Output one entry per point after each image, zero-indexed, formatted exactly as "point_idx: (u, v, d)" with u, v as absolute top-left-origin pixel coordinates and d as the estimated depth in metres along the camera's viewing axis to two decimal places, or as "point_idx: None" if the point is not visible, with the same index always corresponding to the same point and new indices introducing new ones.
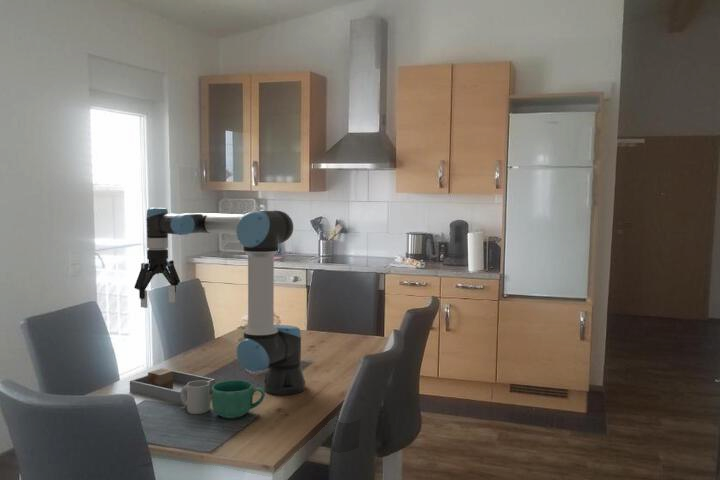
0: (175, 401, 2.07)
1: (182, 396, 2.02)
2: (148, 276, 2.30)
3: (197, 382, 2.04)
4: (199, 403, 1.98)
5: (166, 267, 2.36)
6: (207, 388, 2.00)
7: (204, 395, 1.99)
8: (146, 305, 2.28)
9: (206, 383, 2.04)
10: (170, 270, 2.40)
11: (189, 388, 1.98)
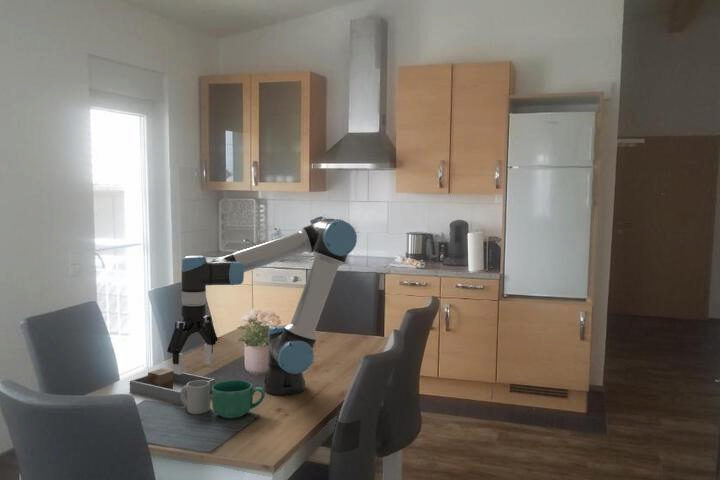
0: (175, 401, 2.07)
1: (182, 396, 2.02)
2: (183, 337, 1.96)
3: (197, 382, 2.04)
4: (199, 403, 1.98)
5: (203, 325, 2.02)
6: (207, 388, 2.00)
7: (204, 395, 1.99)
8: (180, 371, 1.94)
9: (206, 383, 2.04)
10: (207, 327, 2.06)
11: (189, 388, 1.98)
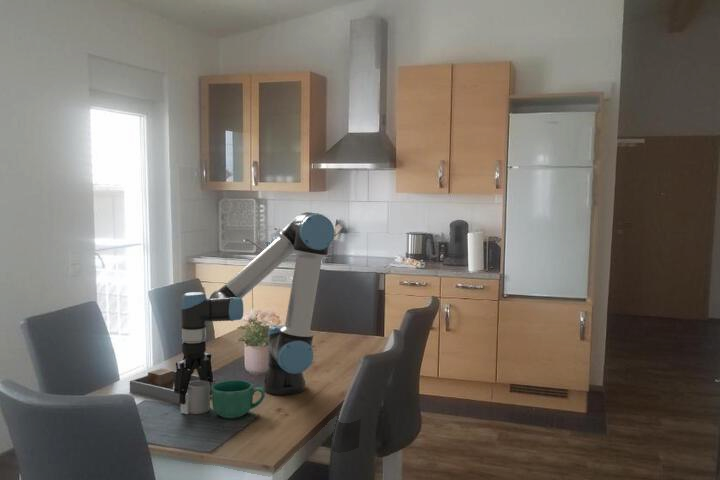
0: (175, 401, 2.07)
1: None
2: (186, 376, 1.98)
3: (197, 382, 2.04)
4: (199, 403, 1.98)
5: (203, 362, 2.02)
6: (207, 388, 2.00)
7: (204, 395, 1.99)
8: (187, 411, 1.98)
9: (206, 383, 2.04)
10: (205, 365, 2.06)
11: (189, 388, 1.98)
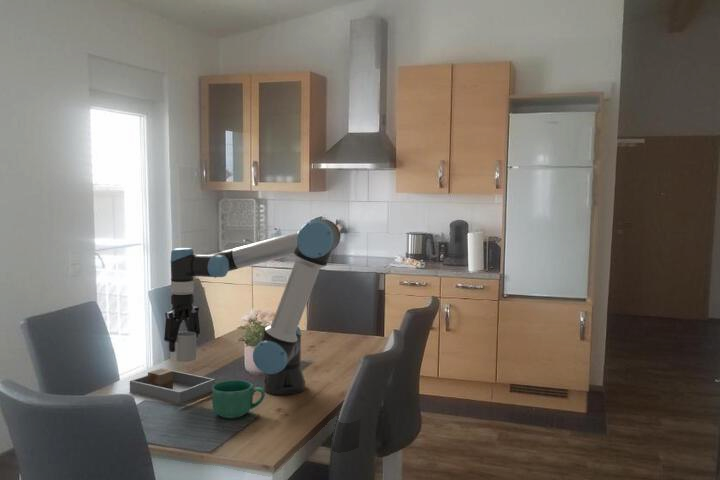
0: (175, 401, 2.07)
1: None
2: (175, 326, 2.11)
3: (184, 333, 2.18)
4: (186, 351, 2.12)
5: (191, 314, 2.16)
6: (193, 338, 2.13)
7: (191, 344, 2.12)
8: (176, 358, 2.12)
9: (193, 334, 2.17)
10: (193, 318, 2.20)
11: None
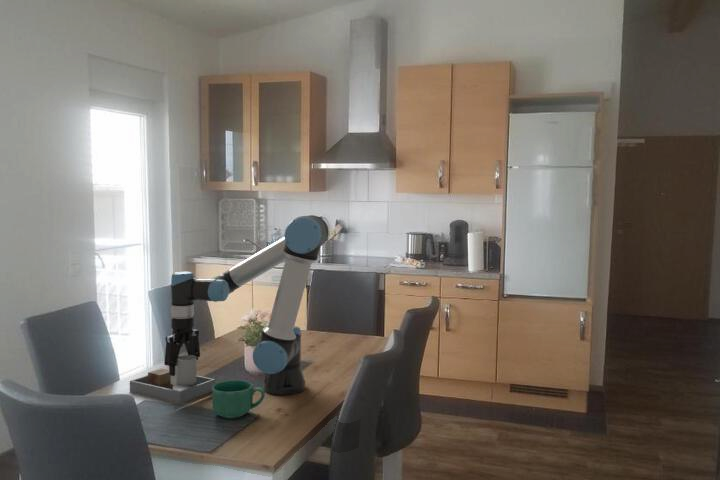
0: (175, 401, 2.07)
1: None
2: (175, 349, 2.12)
3: (185, 356, 2.18)
4: (186, 375, 2.12)
5: (191, 337, 2.17)
6: (194, 361, 2.14)
7: (191, 368, 2.13)
8: (176, 382, 2.12)
9: (193, 357, 2.18)
10: (193, 341, 2.20)
11: (177, 361, 2.12)
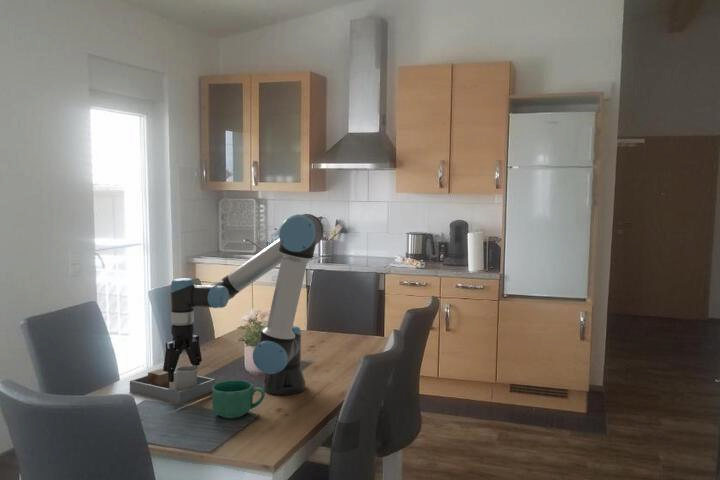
0: (175, 401, 2.07)
1: None
2: (175, 356, 2.12)
3: (185, 367, 2.19)
4: (187, 387, 2.13)
5: (191, 343, 2.17)
6: (194, 373, 2.14)
7: (191, 379, 2.13)
8: (175, 388, 2.12)
9: (194, 368, 2.18)
10: (194, 346, 2.21)
11: (177, 373, 2.13)
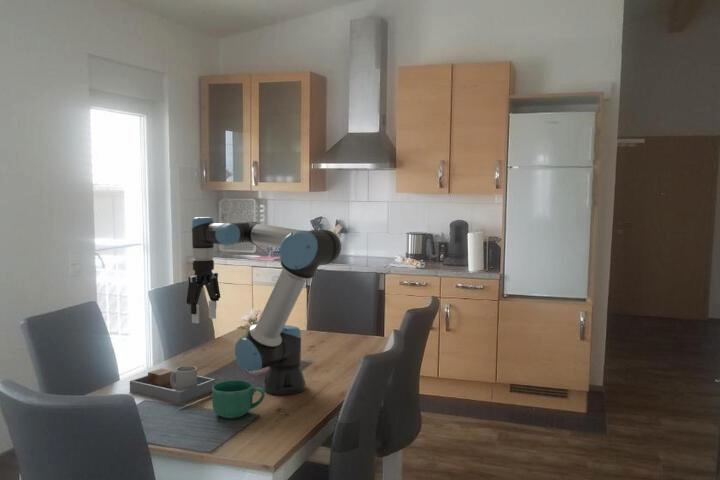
0: (175, 401, 2.07)
1: (171, 380, 2.17)
2: (197, 289, 2.23)
3: (185, 367, 2.19)
4: (187, 387, 2.13)
5: (211, 279, 2.28)
6: (194, 373, 2.14)
7: (191, 379, 2.13)
8: (198, 320, 2.23)
9: (194, 368, 2.18)
10: (213, 283, 2.32)
11: (177, 373, 2.13)
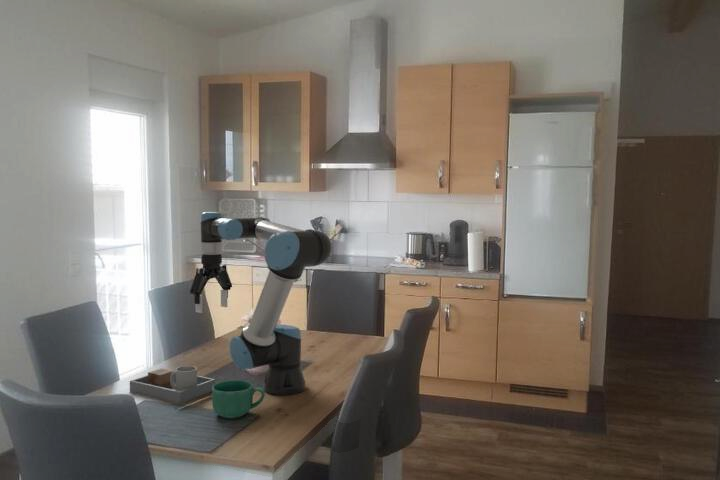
0: (175, 401, 2.07)
1: (171, 380, 2.17)
2: (203, 281, 2.28)
3: (185, 367, 2.19)
4: (187, 387, 2.13)
5: (220, 272, 2.34)
6: (194, 373, 2.14)
7: (191, 379, 2.13)
8: (201, 310, 2.27)
9: (194, 368, 2.18)
10: (223, 275, 2.38)
11: (177, 373, 2.13)
